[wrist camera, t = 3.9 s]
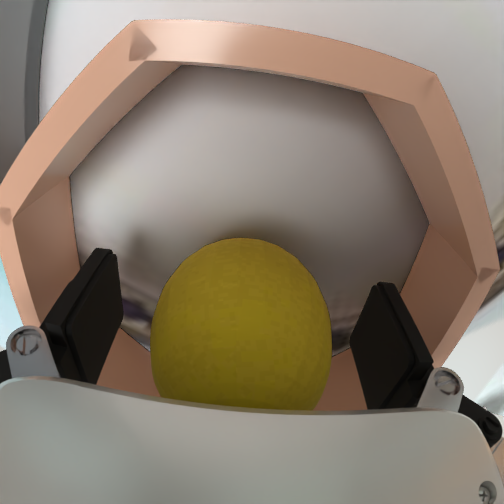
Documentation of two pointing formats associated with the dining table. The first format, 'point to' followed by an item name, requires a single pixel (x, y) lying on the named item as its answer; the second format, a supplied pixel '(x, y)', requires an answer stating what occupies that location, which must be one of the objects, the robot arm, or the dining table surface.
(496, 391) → the dining table surface
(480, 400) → the dining table surface
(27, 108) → the grey tray
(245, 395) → the lemon
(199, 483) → the robot arm
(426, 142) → the terracotta ring
